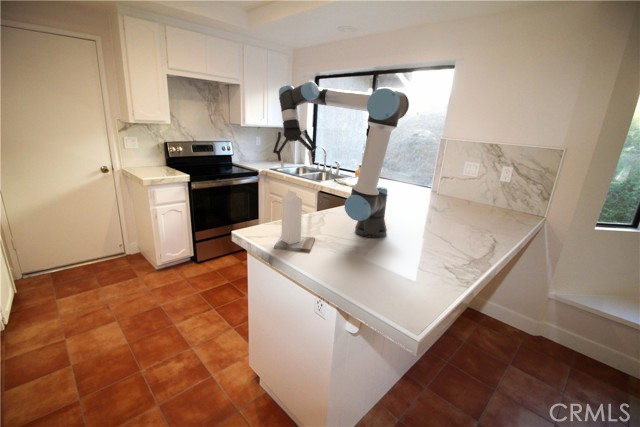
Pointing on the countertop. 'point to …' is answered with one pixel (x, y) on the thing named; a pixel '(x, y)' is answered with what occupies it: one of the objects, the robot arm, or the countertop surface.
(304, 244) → the board
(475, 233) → the countertop surface
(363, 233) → the robot arm
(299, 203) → the milk
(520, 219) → the countertop surface
